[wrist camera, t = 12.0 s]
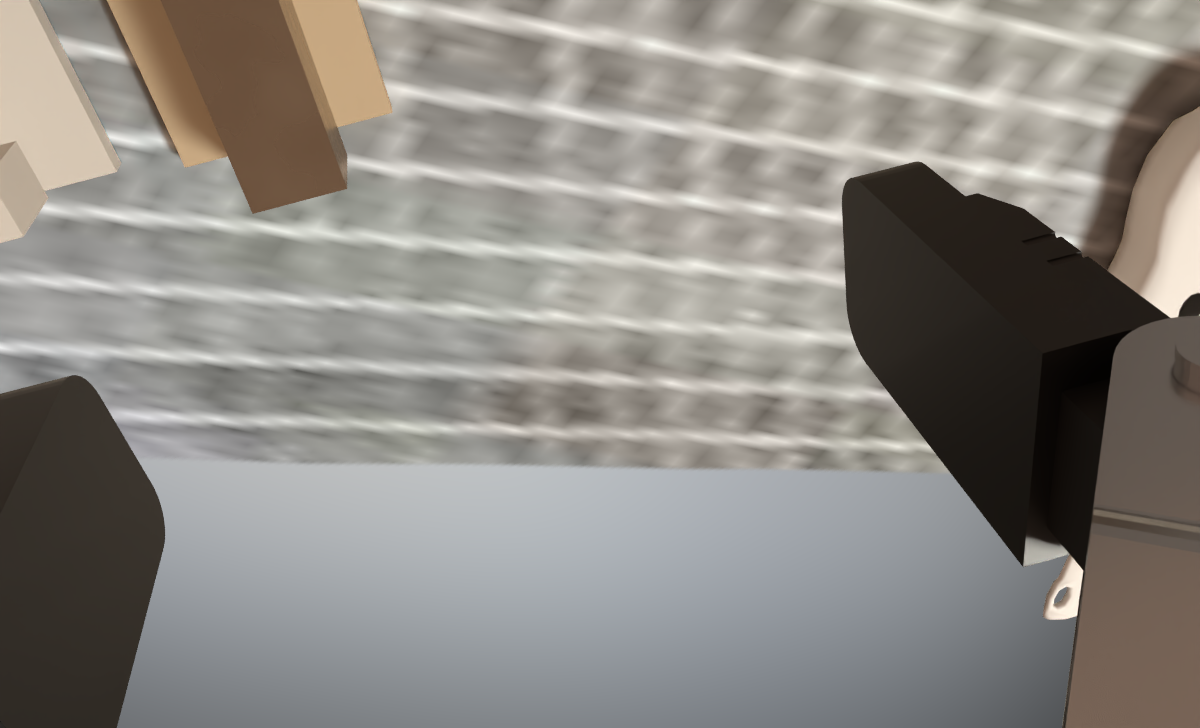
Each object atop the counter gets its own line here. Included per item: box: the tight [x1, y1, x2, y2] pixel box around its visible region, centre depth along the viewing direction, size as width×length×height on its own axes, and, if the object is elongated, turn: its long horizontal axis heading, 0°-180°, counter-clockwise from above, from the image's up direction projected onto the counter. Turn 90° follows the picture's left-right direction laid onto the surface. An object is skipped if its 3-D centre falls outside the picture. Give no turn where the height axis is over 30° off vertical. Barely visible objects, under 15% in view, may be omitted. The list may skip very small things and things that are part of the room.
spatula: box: [1043, 107, 1200, 620], centre depth 46 cm, size 28×6×3 cm, turn 178°
